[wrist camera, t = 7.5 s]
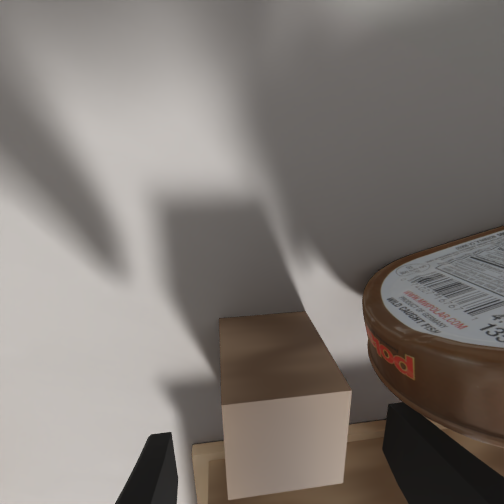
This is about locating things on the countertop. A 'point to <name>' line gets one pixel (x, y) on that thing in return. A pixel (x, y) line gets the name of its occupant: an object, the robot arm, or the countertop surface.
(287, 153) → the countertop surface
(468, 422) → the tin
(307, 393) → the block
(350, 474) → the wooden tray
